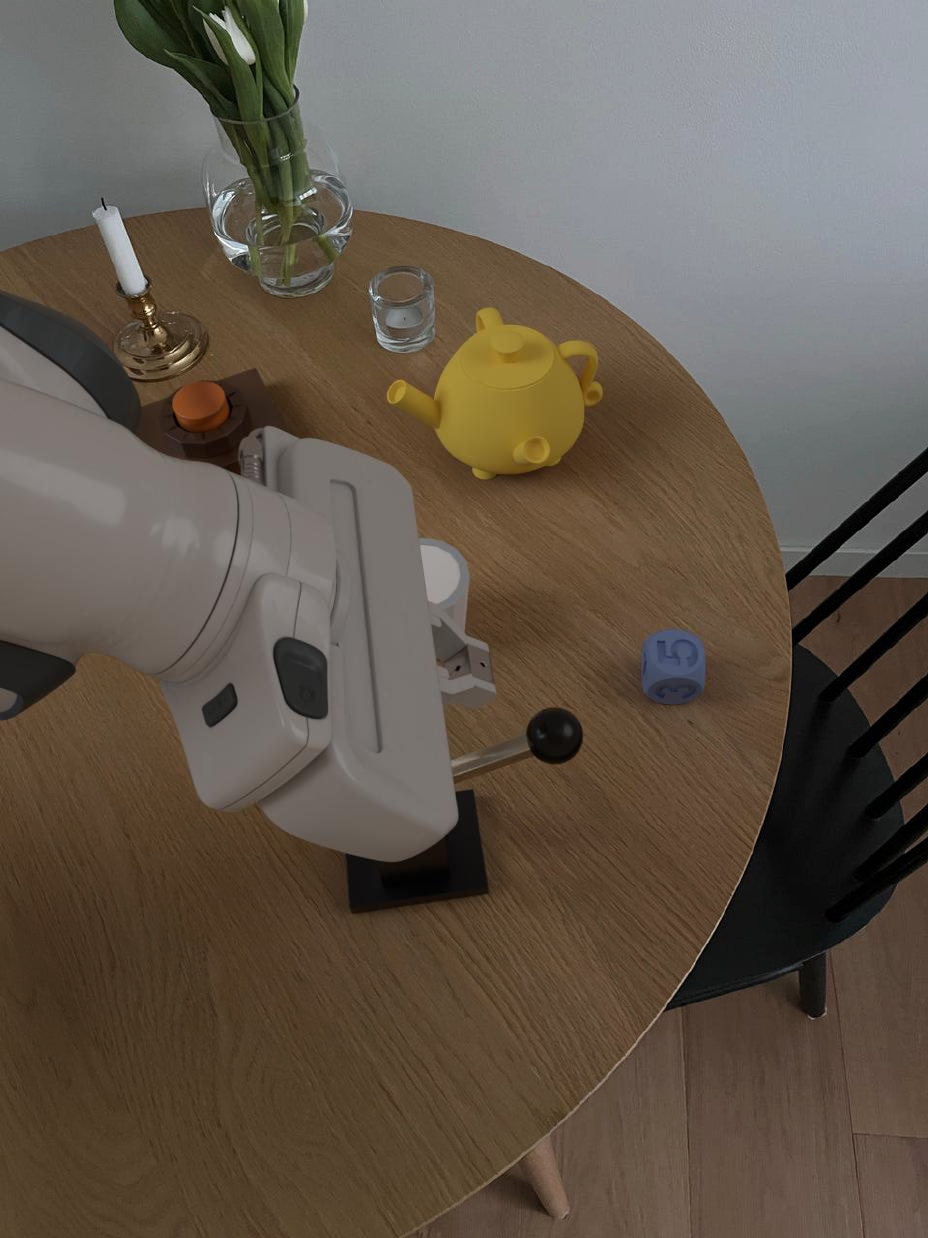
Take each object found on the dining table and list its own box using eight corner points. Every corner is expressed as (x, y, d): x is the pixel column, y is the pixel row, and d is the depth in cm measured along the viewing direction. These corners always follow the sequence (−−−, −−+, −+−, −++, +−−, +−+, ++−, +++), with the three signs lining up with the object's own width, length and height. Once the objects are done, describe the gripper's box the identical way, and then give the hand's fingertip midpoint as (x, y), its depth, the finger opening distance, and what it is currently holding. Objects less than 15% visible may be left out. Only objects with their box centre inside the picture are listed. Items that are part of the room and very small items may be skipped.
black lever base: (473, 796, 73) (467, 713, 63) (489, 894, 69) (484, 822, 59) (343, 814, 73) (316, 734, 63) (351, 914, 69) (323, 845, 59)
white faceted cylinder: (386, 592, 83) (376, 536, 77) (474, 592, 82) (470, 536, 77) (379, 667, 79) (368, 615, 73) (471, 668, 79) (468, 615, 73)
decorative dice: (640, 657, 78) (645, 628, 75) (694, 658, 78) (702, 628, 75) (643, 704, 76) (649, 676, 73) (699, 705, 76) (707, 677, 73)
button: (186, 440, 88) (180, 425, 86) (171, 406, 90) (165, 391, 89) (236, 422, 89) (231, 407, 87) (220, 389, 91) (215, 374, 90)
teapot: (391, 465, 90) (377, 367, 81) (474, 367, 96) (469, 264, 87) (539, 531, 86) (542, 435, 76) (616, 423, 92) (627, 322, 82)
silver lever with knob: (585, 712, 61) (564, 690, 58) (596, 762, 59) (575, 741, 57) (391, 782, 65) (364, 764, 63) (396, 830, 63) (368, 814, 61)
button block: (163, 507, 89) (149, 475, 85) (132, 429, 94) (118, 396, 90) (297, 458, 91) (289, 425, 88) (260, 385, 96) (251, 351, 93)
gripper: (204, 453, 52) (420, 548, 60) (202, 846, 40) (470, 895, 49) (276, 372, 48) (495, 485, 57) (297, 778, 37) (568, 844, 45)
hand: (484, 677), depth 53 cm, fingers closed
